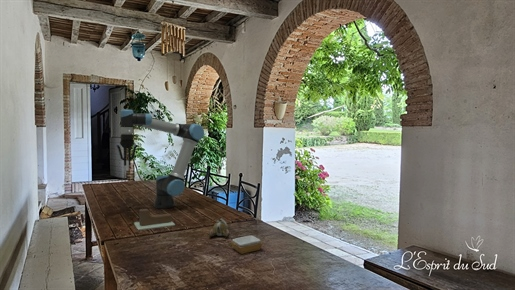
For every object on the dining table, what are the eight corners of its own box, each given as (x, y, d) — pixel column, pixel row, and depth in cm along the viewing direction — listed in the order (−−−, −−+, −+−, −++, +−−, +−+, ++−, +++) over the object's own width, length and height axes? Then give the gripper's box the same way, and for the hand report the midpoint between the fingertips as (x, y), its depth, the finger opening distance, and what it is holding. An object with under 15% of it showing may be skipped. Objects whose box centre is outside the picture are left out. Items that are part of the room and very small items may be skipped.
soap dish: (252, 244, 164) (252, 234, 163) (262, 250, 155) (262, 240, 155) (230, 249, 157) (230, 238, 157) (240, 255, 149) (240, 244, 148)
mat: (168, 219, 206) (168, 218, 206) (175, 225, 193) (175, 224, 193) (134, 223, 196) (133, 222, 196) (137, 230, 183) (137, 229, 183)
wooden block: (140, 211, 189) (171, 207, 197) (139, 209, 192) (169, 206, 201) (140, 226, 189) (171, 222, 198) (139, 224, 193) (169, 220, 202)
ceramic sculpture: (231, 215, 184) (228, 224, 169) (231, 230, 185) (228, 240, 170) (212, 215, 184) (207, 224, 169) (212, 230, 185) (208, 240, 170)
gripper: (116, 134, 201) (116, 171, 202) (138, 134, 207) (138, 170, 208) (115, 133, 208) (115, 170, 209) (136, 133, 214) (137, 169, 215)
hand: (127, 170), depth 209 cm, fingers closed
